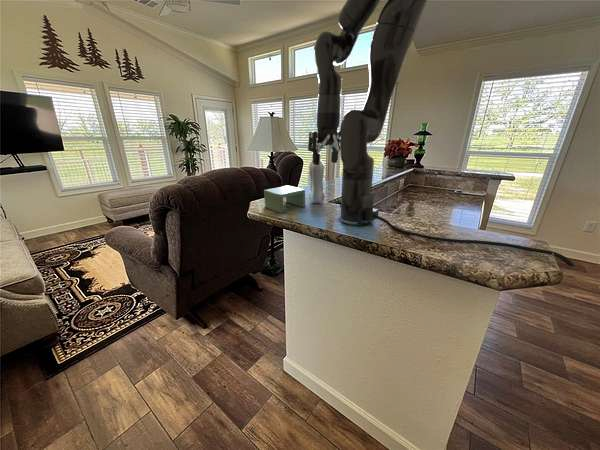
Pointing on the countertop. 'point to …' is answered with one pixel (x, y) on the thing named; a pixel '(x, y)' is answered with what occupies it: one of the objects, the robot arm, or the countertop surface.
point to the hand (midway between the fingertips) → (325, 163)
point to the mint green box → (276, 196)
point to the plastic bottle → (316, 181)
